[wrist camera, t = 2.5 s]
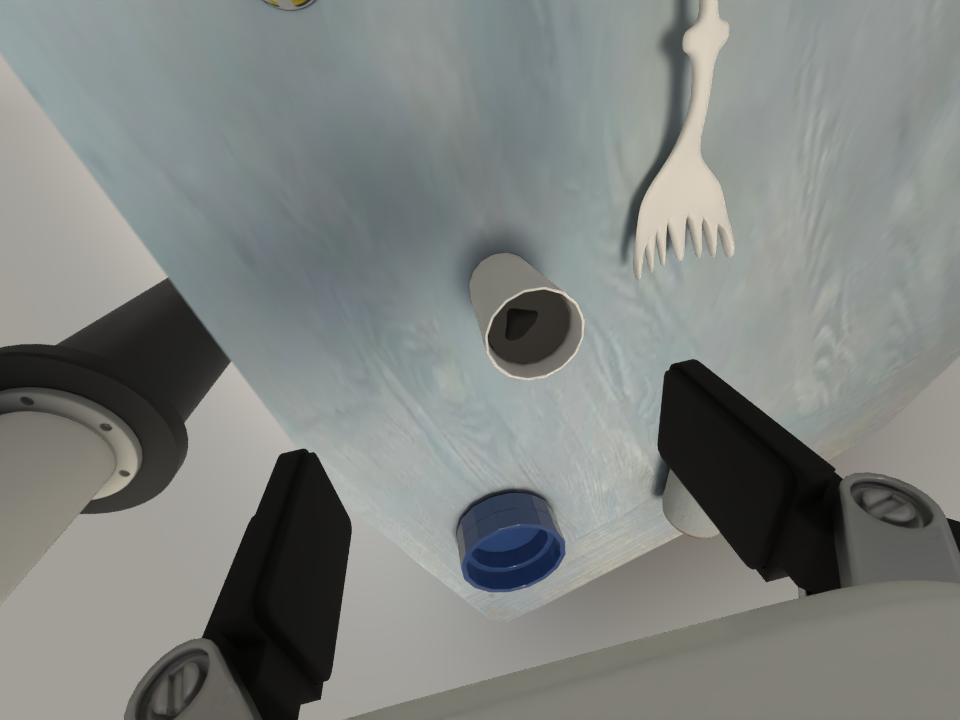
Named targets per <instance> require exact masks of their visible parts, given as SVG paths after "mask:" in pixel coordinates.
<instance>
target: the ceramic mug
mask: <svg viewBox="0 0 960 720" xmlns="http://www.w3.org/2000/svg"><path fill="white" fill-rule="evenodd" d="M663 511H664V514H665V516H666V518H667V519H668V521H669V522H670V523H671V524H672V525H673V526H674V527H675V528H676V529H678V530H679V531H680V532H682V533H684V534H686V535H689V536H692V537H695V538H711V537H714V536H716V535H717V534H719V533H720V531H719V530H718V529H717V528H716V526H715V525H714V524H713V522H712V521H711V520H710V519H709V517H708V516H707V515H706V513H705V512H704V511H703V510H702V508H701V507H700V506H699V504H698V503H697V502H696V501H695V499H694V498H693V497H692V495H691V494H690V493H689V492H688V490H687V489H686V488H685V487H684V485H683V484H682V483H681V481H680V480H679V479H678V478H677V476H676V475H675V474H674V472H673V471H672V470H671V469H670V471H669V475H668V479H667V483H666V487H665V490H664V494H663Z"/></svg>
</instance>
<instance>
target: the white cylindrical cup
mask: <svg viewBox="0 0 960 720" xmlns="http://www.w3.org/2000/svg"><path fill="white" fill-rule="evenodd" d="M469 288H470V297H471V300H472V304H473V307H474V311H475V314H476V318H477V321H478V325H479V328H480V331H481V335H482V338H483V342H484V345H485V349H486V352H487V354H488V356H489V358H490V359H491V361H492V363H493V364H494V366H495V368H497V369H498V370H500V371H501V372H503V373H504V374H506V375H507V376H509V377H512V378H518V379H523V380H532V379H537V378H543V377H547V376H549V375H550V374H552V373H554V372H556V371H558V370H560V369H562V368H563V367H564V366H565V365H566V364H567V363H568V362H569V361H570V360H571V359H572V358H573V357H574V356H575V355H576V353H577V350H578V348H579V346H580V344H581V342H582V340H583V336H584V318H583V315H582V313H581V310H580V308H579V306H578V303H576V302H575V301H574V300H573V299H572V298H571V297H569V296H568V295H567V294H566V293H565V292H564V291H562V290H561V289H560V288H559V287H557V286H556V285H555V284H553V283H552V282H551V281H550V280H548V279H547V278H546V277H545V276H543V275H542V274H541V273H540V272H538V271H537V270H536V269H535V268H533V267H532V266H531V265H530V264H528V263H527V262H526V261H525V260H523V259H522V258H521V257H520V256H517V255H514V254H510V253H499V254H493V255H491V256H490V257H488V258H486V259H484V260H483V261H481V262H480V264H479V265H478V266H477V267H476V269H475V270H474V271H473V273H472V277H471V280H470V283H469Z"/></svg>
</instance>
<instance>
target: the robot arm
mask: <svg viewBox="0 0 960 720" xmlns="http://www.w3.org/2000/svg"><path fill="white" fill-rule="evenodd" d="M658 450H659V453H660V455H661V457H662V458H663V460H664V461H665V462H666V463H667V465H668V466H669V467H670V469H671V470H672V471H673V472H674V474H675V475H676V476H677V478H678V479H679V480H680V481H681V483H682V484H683V485H684V487H685V488H686V489H687V490H688V492H689V493H690V494H691V495H692V497H693V498H694V499H695V501H696V502H697V503H698V504H699V506H700V507H701V508H702V510H703V511H704V512H705V513H706V515H707V516H708V517H709V519H710V520H711V521H712V522H713V524H714V525H715V526H716V528H717V529H718V530H719V531H720V533H721V534H722V535H723V536H724V538H725V539H726V540H727V542H728V543H729V544H730V545H731V547H732V548H733V549H734V551H735V552H736V553H737V554H738V556H739V557H740V558H741V560H742V561H743V562H744V563H745V564H746V565H747V566H748V567H749V568H751V569H756V570H757V571H758V572H759V574H760V575H761V576H762V577H763V579H764V580H765V581H766V582H769V581H773V580H776V579H780V578H784V577H788V576H789V577H790V578H791V579H792V580H793V581H794V583H795V584H796V585H797V586H798V593H799V598H798V599H794V600H790V601H785V602H781V603H777V604H773V605H769V606H764V607H761V608H757V609H753V610H749V611H745V612H741V613H738V614H734V615H730V616H726V617H722V618H718V619H714V620H711V621H707V622H703V623H699V624H696V625H691V626H688V627H684V628H680V629H676V630H672V631H668V632H665V633H661V634H657V635H653V636H650V637H645V638H642V639H638V640H634V641H630V642H627V643H623V644H619V645H615V646H612V647H608V648H604V649H600V650H597V651H593V652H589V653H585V654H581V655H578V656H574V657H570V658H566V659H563V660H559V661H556V662H551V663H548V664H544V665H540V666H536V667H533V668H529V669H525V670H522V671H518V672H514V673H510V674H507V675H503V676H499V677H496V678H492V679H488V680H485V681H481V682H477V683H473V684H470V685H466V686H462V687H459V688H455V689H451V690H448V691H444V692H441V693H437V694H433V695H430V696H426V697H422V698H419V699H415V700H412V701H408V702H404V703H400V704H397V705H393V706H389V707H385V708H382V709H378V710H375V711H372V712H368V713H365V714H361V715H358V716H355V717H351V718H348V719H344V720H960V522H958V521H955V520H952V519H948V518H946V516H945V515H944V513H943V511H942V510H941V508H940V507H939V505H938V504H937V503H936V502H935V501H934V500H932V499H931V498H930V497H929V496H928V495H927V494H925V493H924V492H922V491H920V490H919V489H917V488H916V487H914V486H912V485H910V484H908V483H905V482H903V481H901V480H899V479H896V478H892V477H888V476H885V475H882V474H875V473H854V474H851V475H849V476H846V477H845V478H844V479H842V478H841V477H840V476H839V475H837V474H836V473H835V472H834V471H835V468H834V467H833V466H831V465H830V464H829V463H827V462H826V461H825V460H824V459H822V458H821V457H820V456H819V455H817V454H816V453H815V452H814V451H812V450H811V449H810V448H808V447H807V446H806V445H805V444H803V443H802V442H801V441H800V440H798V439H797V438H796V437H794V436H793V435H792V434H791V433H789V432H788V431H787V430H786V429H784V428H783V427H782V426H780V425H779V424H778V423H777V422H775V421H774V420H773V419H772V418H770V417H769V416H768V415H766V414H765V413H764V412H763V411H761V410H760V409H759V408H758V407H756V406H755V405H754V404H753V403H751V402H750V401H749V400H747V399H746V398H745V397H744V396H742V395H741V394H740V393H739V392H737V391H736V390H735V389H733V388H732V387H731V386H730V385H728V384H727V383H726V382H725V381H723V380H722V379H721V378H719V377H718V376H717V375H716V374H714V373H713V372H712V371H711V370H709V369H708V368H707V367H705V366H704V365H703V364H702V363H700V362H699V361H697V360H695V359H692V360H688V361H683V362H679V363H674V364H672V365H671V366H670V369H669V370H668V371H666V372H665V375H664V383H663V393H662V403H661V413H660V424H659V434H658ZM142 459H143V457H142V448H141V445H140V442H139V440H138V438H137V437H136V435H135V433H134V432H133V430H132V429H131V428H130V427H129V426H128V425H127V424H126V423H125V422H124V421H123V420H122V419H121V418H120V417H118V416H117V415H116V414H114V413H113V412H112V411H110V410H109V409H107V408H105V407H103V406H102V405H100V404H98V403H96V402H94V401H92V400H89V399H87V398H84V397H82V396H79V395H76V394H72V393H69V392H65V391H61V390H55V389H49V388H38V387H22V388H11V389H7V390H3V391H0V605H1V604H2V603H3V602H4V601H5V600H6V598H7V597H8V596H9V595H10V594H11V593H12V591H13V590H14V589H15V588H16V587H17V586H18V584H19V583H20V582H21V581H22V580H23V579H24V577H25V576H26V575H27V574H28V573H29V571H30V570H31V569H32V568H33V567H34V566H35V565H36V563H37V562H38V561H39V560H40V559H41V558H42V556H43V555H44V554H45V553H46V552H47V550H48V549H49V548H50V547H51V546H52V545H53V544H54V542H55V541H56V540H57V539H58V538H59V537H60V535H61V534H62V533H63V532H64V531H65V530H66V528H67V527H68V526H69V525H70V524H71V523H72V521H73V520H74V519H75V518H76V516H78V514H79V513H80V512H81V511H82V510H83V509H84V507H85V506H86V505H87V504H88V503H89V502H90V500H94V499H99V498H103V497H106V496H109V495H112V494H114V493H116V492H118V491H120V490H121V489H123V488H124V487H125V486H127V485H128V484H129V483H130V481H131V480H132V479H133V478H134V477H135V475H136V474H137V472H138V471H139V469H140V467H141V463H142ZM351 531H352V527H351V521H350V518H349V516H348V514H347V512H346V510H345V509H344V506H343V505H342V503H341V501H340V499H339V497H338V495H337V493H336V491H335V489H334V487H333V485H332V483H331V482H330V480H329V478H328V476H327V474H326V472H325V470H324V468H323V466H322V464H321V462H320V460H319V458H318V457H317V455H316V454H315V453H314V452H312V453H309V452H308V450H306V449H300V450H295V451H291V452H287V453H282V454H281V455H280V456H279V457H278V459H277V462H276V464H275V467H274V469H273V472H272V474H271V477H270V479H269V482H268V484H267V487H266V489H265V492H264V494H263V497H262V499H261V502H260V504H259V507H258V509H257V512H256V514H255V515H254V516H253V517H252V518H251V520H250V522H249V524H248V526H247V529H246V531H245V534H244V536H243V538H242V541H241V543H240V546H239V548H238V551H237V553H236V556H235V558H234V560H233V563H232V565H231V568H230V570H229V573H228V575H227V578H226V580H225V583H224V585H223V587H222V590H221V592H220V595H219V597H218V600H217V602H216V604H215V607H214V610H213V612H212V614H211V617H210V619H209V622H208V624H207V626H206V629H205V631H204V634H203V636H202V638H199V639H193V640H190V641H187V642H185V643H183V644H181V645H179V646H176V647H175V648H174V649H172V650H171V651H170V652H168V653H167V654H165V655H164V656H163V657H162V658H160V660H159V661H157V663H155V665H153V666H152V667H151V668H150V669H149V671H148V672H147V673H146V674H145V676H144V677H143V678H142V680H141V681H140V682H139V683H138V685H137V687H136V688H135V690H134V692H133V694H132V696H131V698H130V699H129V702H128V705H127V708H126V711H125V714H124V720H298V715H299V710H300V705H301V704H305V703H309V702H313V701H317V700H320V699H321V695H322V688H323V682H324V681H327V680H329V678H330V676H331V672H332V667H333V660H334V653H335V646H336V639H337V632H338V625H339V618H340V611H341V604H342V596H343V590H344V582H345V576H346V569H347V561H348V555H349V547H350V540H351V533H352V532H351Z"/></svg>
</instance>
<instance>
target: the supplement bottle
mask: <svg viewBox="0 0 960 720" xmlns="http://www.w3.org/2000/svg"><path fill="white" fill-rule="evenodd" d="M262 1H264V2H265V3H267V4H269V5H271V6H274V7H276V8H279V9H284V10H296V9H301V8H304V7H306V6H308V5H309V4H311V3H312V2H313V1H314V0H262Z"/></svg>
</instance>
